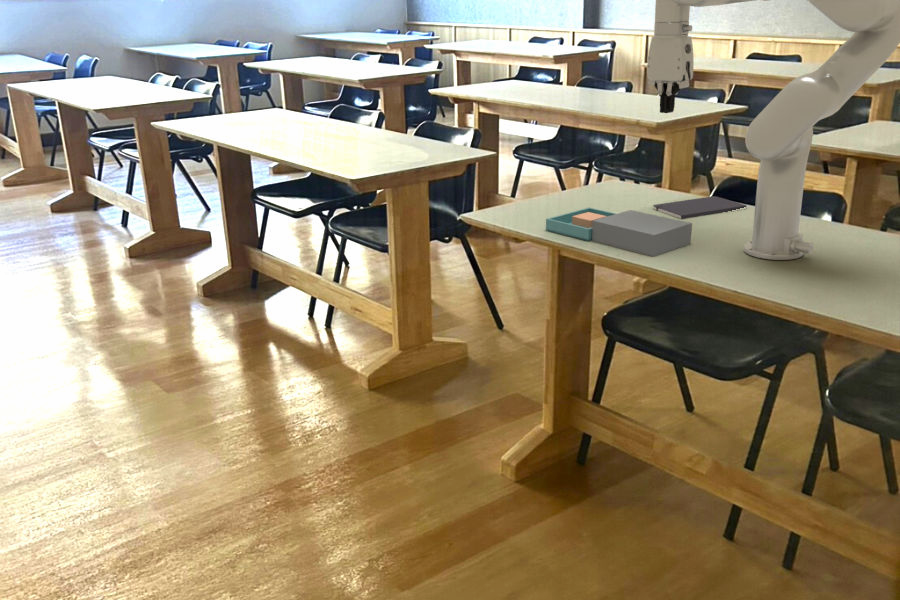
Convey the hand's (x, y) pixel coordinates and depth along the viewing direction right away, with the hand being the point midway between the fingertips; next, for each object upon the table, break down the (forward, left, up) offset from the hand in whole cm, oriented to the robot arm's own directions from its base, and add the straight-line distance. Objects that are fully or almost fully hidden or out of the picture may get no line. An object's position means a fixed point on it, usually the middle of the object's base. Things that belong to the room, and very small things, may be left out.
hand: (666, 112), depth 202 cm
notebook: (+7, -26, -30) cm, 40 cm away
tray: (+14, +10, -29) cm, 34 cm away
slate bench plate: (-2, +10, -29) cm, 31 cm away
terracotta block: (+14, +10, -26) cm, 31 cm away
